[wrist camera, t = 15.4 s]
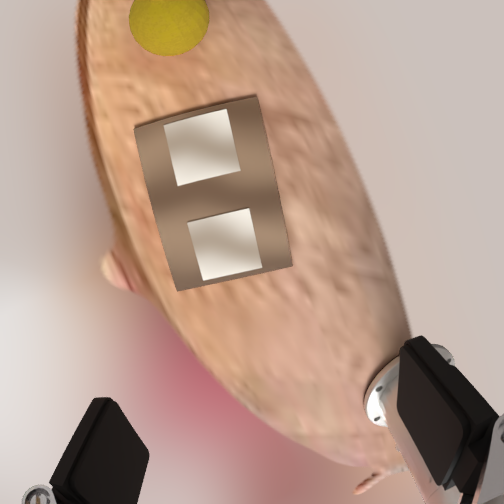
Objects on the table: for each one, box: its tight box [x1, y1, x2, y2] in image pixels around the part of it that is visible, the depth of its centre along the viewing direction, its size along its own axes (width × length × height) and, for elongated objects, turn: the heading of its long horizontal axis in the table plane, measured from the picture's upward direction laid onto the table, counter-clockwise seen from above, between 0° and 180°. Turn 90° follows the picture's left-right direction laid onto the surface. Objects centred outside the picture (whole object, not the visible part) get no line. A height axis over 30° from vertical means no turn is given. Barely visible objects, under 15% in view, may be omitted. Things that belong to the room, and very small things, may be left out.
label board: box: [134, 97, 293, 291], centre depth 24 cm, size 14×10×1 cm
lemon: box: [129, 0, 209, 56], centre depth 16 cm, size 6×6×8 cm
